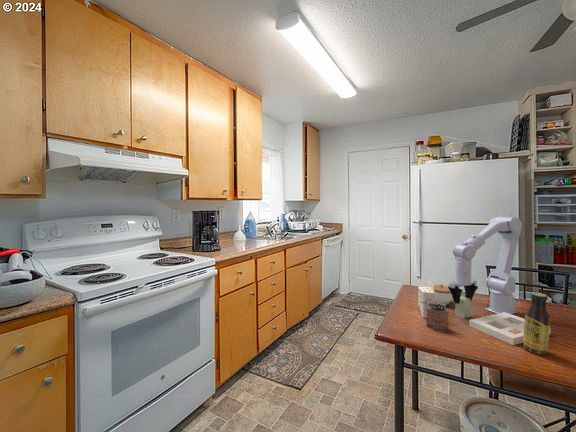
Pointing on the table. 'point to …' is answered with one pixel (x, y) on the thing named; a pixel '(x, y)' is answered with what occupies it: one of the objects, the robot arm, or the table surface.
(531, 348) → the sauce bottle
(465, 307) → the peg
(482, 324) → the slot board
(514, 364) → the table surface
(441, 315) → the lighter
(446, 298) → the lidded jar
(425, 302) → the ink cartridge box
